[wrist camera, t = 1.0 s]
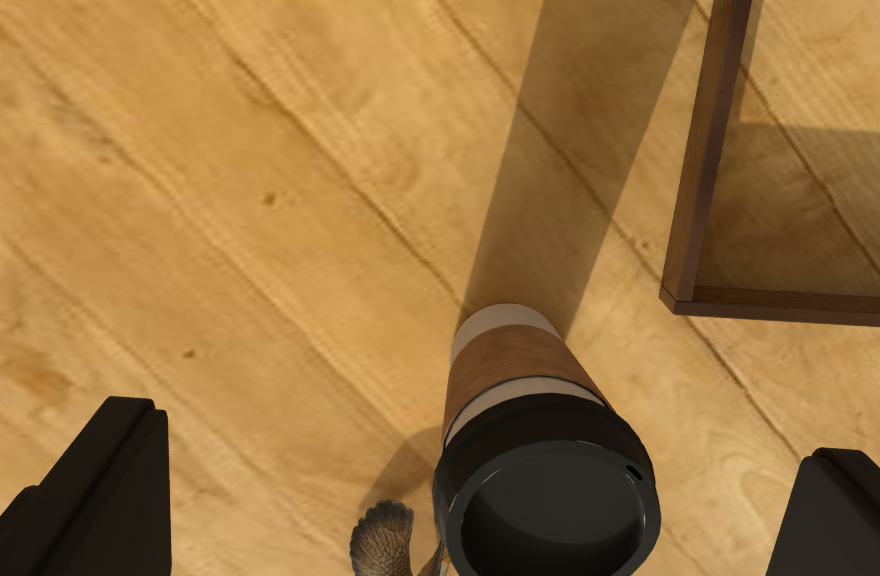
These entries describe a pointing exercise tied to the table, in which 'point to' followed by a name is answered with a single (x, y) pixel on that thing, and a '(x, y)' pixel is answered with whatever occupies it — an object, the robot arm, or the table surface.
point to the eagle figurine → (389, 544)
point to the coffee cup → (537, 459)
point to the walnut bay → (697, 198)
